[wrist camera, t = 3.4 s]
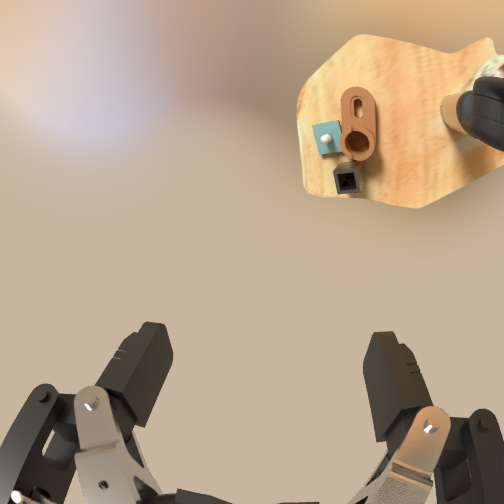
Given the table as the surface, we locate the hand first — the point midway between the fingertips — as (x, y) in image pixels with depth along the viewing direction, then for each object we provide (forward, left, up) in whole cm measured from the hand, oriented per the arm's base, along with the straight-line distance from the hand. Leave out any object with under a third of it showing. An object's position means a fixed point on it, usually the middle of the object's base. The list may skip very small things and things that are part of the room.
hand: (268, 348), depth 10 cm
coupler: (+8, +7, -64) cm, 65 cm away
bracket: (+3, -5, -65) cm, 65 cm away
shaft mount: (+12, -3, -64) cm, 66 cm away
